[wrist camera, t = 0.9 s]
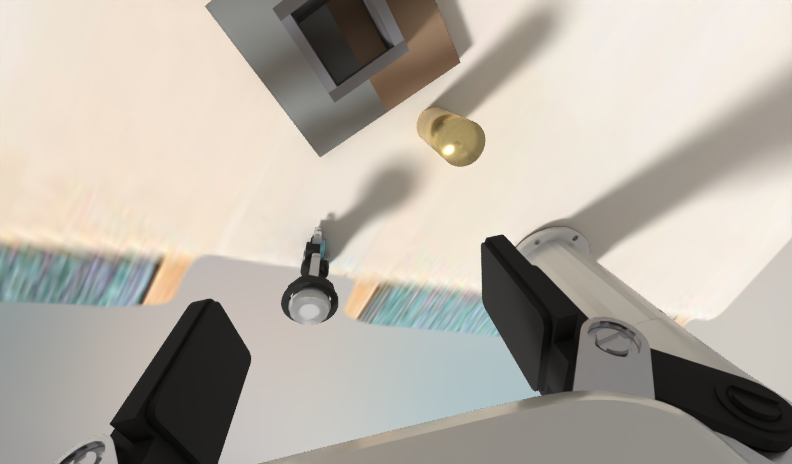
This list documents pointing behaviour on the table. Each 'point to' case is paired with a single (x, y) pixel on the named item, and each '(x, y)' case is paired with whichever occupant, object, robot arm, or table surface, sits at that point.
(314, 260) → the push button
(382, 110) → the base with square socket
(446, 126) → the hinge pin
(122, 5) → the table surface
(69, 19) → the table surface
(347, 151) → the table surface
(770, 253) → the table surface
